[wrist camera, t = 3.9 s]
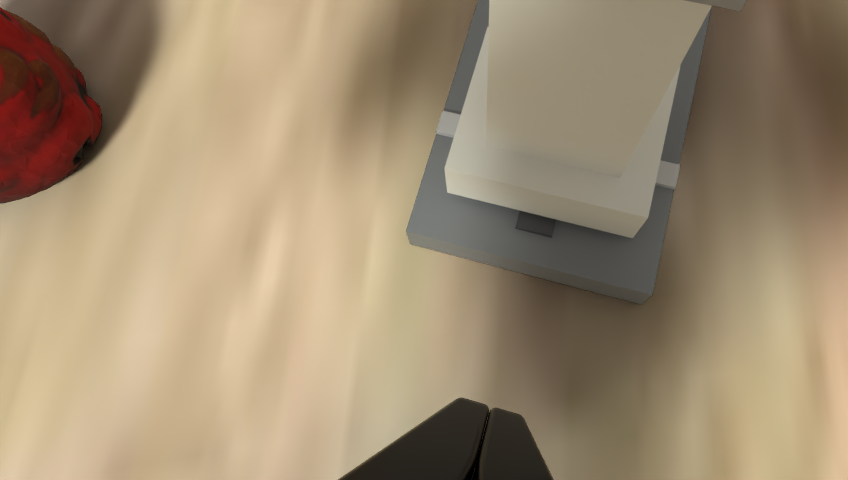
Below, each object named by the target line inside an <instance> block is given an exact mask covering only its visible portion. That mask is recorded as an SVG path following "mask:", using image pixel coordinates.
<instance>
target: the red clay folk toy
mask: <svg viewBox="0 0 848 480" xmlns="http://www.w3.org/2000/svg"><path fill="white" fill-rule="evenodd" d="M100 111H101V110H100V106H99V105H98V104H97V103H96V102H95V101H94V100H93V99H92V98H90V97H89V96H88V95H87V91H86V84H85V80H84V77H83V75H82V73H81V72H80V71H79V70H78V69H77V68H76V67H75V66H74V65H73V63H72V61H71V59H70V58H69V57H68V56H67V55H66V54H65V53H64V52H63V51H62V50H61V49H60V48H58V47H56V46H54V45H52V44H51V43H50V41H49V39H48V38H47V36H46V35H45V33H44V32H42V31H41V30H39V29H38V28H36V27H35V26H34V25H32V24H31V23H29V22H28V21H26V20H24V19H23V18H21V17H19V16H17V15H15V14H13V13H10V12H8V11H6V10H3V9H2V8H1V7H0V203H6V202H11V201H15V200H19V199H22V198H25V197H29V196H31V195H33V194H36V193H38V192H40V191H43V190H46V189H48V188H50V187H51V186H53V185H54V184H56V183H58V182H59V181H61V180H62V179H64V178H65V177H67V176H68V175H71V174H72V173H73V172H74V171H75V170H76V168H77V167H78V166H79V165H80V164H81V162H82V159H83V158H82V155H83V150H82V149H83V145H84V144H87V145H93V143H94V141H95V139H96V138H97V136H98V135H99V134H100V131H101V124H102V123H101V120H102V114H101V113H100Z"/></svg>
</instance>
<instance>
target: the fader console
mask: <svg viewBox="0 0 848 480" xmlns="http://www.w3.org/2000/svg"><path fill="white" fill-rule="evenodd" d="M711 8H712V7H711ZM711 8H710V10H709V12H708V14H707V16H706V18H705V20H704V22H703V23H702V25H701V27H700V29H699V31H698V33H697V35H696V36H695V38H694V40H693V42H692V44H691V46H690V48H689V50H688V51H687V53H686V55H685V57H684V59H683V61H682V63H681V65H680V71H679V76H678V80H677V85H676V90H675V94H674V99H673V104H672V108H671V113H670V118H669V122H668V127H667V132H666V136H665V141H664V146H663V151H662V155H661V160H660V165H659V169H658V174H657V179H656V183H655V188H654V193H653V197H652V202H651V207H650V211H649V216H648V219H647V220H646V221H645V223H644V224H643V225H642V227H641V228H640V229H639V231H638V232H637V233H636V235H635V236H634V237H633V238H629V237H625V236H621V235H617V234H613V233H609V232H605V231H601V230H597V229H593V228H589V227H584V226H580V225H576V224H572V223H568V222H564V221H560V220H556V219H552V218H548V217H544V216H540V215H536V214H532V213H528V212H524V211H520V210H516V209H512V208H508V207H504V206H500V205H496V204H491V203H487V202H483V201H479V200H475V199H471V198H467V197H463V196H459V195H455V194H451V193H447V186H446V178H445V170H444V168H445V165H446V161H447V158H448V155H449V152H450V148H451V145H452V142H453V138H454V135H455V132H456V129H457V125H458V122H459V119H460V116H461V112H462V109H463V106H464V102H465V99H466V96H467V93H468V89H469V86H470V83H471V79H472V76H473V73H474V70H475V66H476V63H477V60H478V56H479V53H480V50H481V47H482V43H483V40H484V37H485V33H486V30H487V27H489V0H478V2H477V5H476V9H475V12H474V15H473V18H472V21H471V25H470V28H469V31H468V34H467V37H466V41H465V44H464V47H463V50H462V53H461V57H460V60H459V63H458V66H457V69H456V73H455V76H454V79H453V82H452V85H451V89H450V92H449V95H448V98H447V101H446V105H445V108H444V111H442V114H441V117H440V120H439V123H438V127H437V130H436V137H435V140H434V143H433V146H432V149H431V153H430V156H429V159H428V162H427V165H426V169H425V172H424V175H423V178H422V181H421V185H420V188H419V191H418V194H417V197H416V201H415V204H414V207H413V210H412V213H411V217H410V220H409V223H408V226H407V229H406V233H407V236H408V239H409V242H410V244H412V245H415V246H419V247H423V248H427V249H431V250H435V251H438V252H442V253H446V254H450V255H454V256H458V257H461V258H465V259H469V260H473V261H477V262H480V263H484V264H488V265H492V266H496V267H500V268H503V269H507V270H511V271H515V272H519V273H522V274H526V275H530V276H534V277H538V278H542V279H545V280H549V281H553V282H557V283H561V284H565V285H568V286H572V287H576V288H580V289H584V290H587V291H591V292H595V293H599V294H603V295H607V296H610V297H614V298H618V299H622V300H626V301H630V302H633V303H637V304H643V303H644V302H645V301H646V300H647V299H648V298H650V297H651V296H652V295H653V290H654V285H655V280H656V276H657V271H658V266H659V261H660V256H661V251H662V246H663V241H664V237H665V232H666V227H667V222H668V217H669V212H670V207H671V202H672V198H673V193H674V189H675V188H676V184H677V179H678V175H679V170H680V165H679V163H680V159H681V154H682V149H683V144H684V139H685V134H686V129H687V125H688V120H689V115H690V110H691V105H692V100H693V95H694V90H695V86H696V81H697V76H698V71H699V66H700V61H701V56H702V51H703V47H704V42H705V37H706V32H707V27H708V22H709V17H710V12H711Z"/></svg>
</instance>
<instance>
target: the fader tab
mask: <svg viewBox="0 0 848 480" xmlns="http://www.w3.org/2000/svg"><path fill="white" fill-rule="evenodd" d="M746 2H747V0H489V27H487V30H486V33H485V37H484V40H483V43H482V47H481V50H480V53H479V56H478V60H477V63H476V66H475V70H474V73H473V76H472V79H471V83H470V86H469V89H468V93H467V96H466V99H465V102H464V106H463V109H462V112H461V116H460V119H459V122H458V125H457V129H456V132H455V135H454V138H453V142H452V145H451V148H450V152H449V155H448V158H447V161H446V165H445V168H444V170H445V178H446V186H447V193H451V194H455V195H459V196H463V197H467V198H471V199H475V200H479V201H483V202H487V203H491V204H496V205H500V206H504V207H508V208H512V209H516V210H520V211H524V212H528V213H532V214H536V215H540V216H544V217H548V218H552V219H556V220H560V221H564V222H568V223H572V224H576V225H580V226H584V227H589V228H593V229H597V230H601V231H605V232H609V233H613V234H617V235H621V236H625V237H629V238H633V237H634V236H635V235H636V233H637V232H638V231H639V229H640V228H641V227H642V225H643V224H644V223H645V221H646V220H647V219H648V216H649V211H650V207H651V202H652V197H653V193H654V188H655V183H656V179H657V174H658V169H659V165H660V160H661V155H662V151H663V146H664V141H665V136H666V132H667V127H668V122H669V118H670V113H671V108H672V104H673V99H674V94H675V90H676V85H677V80H678V76H679V71H680V65H681V63H682V61H683V59H684V57H685V55H686V53H687V51H688V50H689V48H690V46H691V44H692V42H693V40H694V38H695V36H696V35H697V33H698V31H699V29H700V27H701V25H702V23H703V22H704V20H705V18H706V16H707V14H708V12H709V10H710V8H711V7H712V6H716V7H721V8H726V9H732V10H737V11H741V10H742V8H743V7H744V5H745V3H746Z"/></svg>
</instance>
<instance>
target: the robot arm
mask: <svg viewBox="0 0 848 480" xmlns="http://www.w3.org/2000/svg"><path fill="white" fill-rule="evenodd" d="M488 414H489V415H488ZM487 417H488V419H487ZM486 421H487V423H486ZM485 425H486V427H485ZM484 429H485V430H484ZM483 433H484V434H483ZM482 437H483V438H482ZM481 441H482V442H481ZM480 445H481V446H480ZM479 449H480V450H479ZM474 468H475V469H474ZM473 472H474V473H473ZM472 476H473V477H472ZM338 480H553V478H552V476H551V473H550V471H549V469H548V467H547V465H546V463H545V461H544V459H543V457H542V455H541V453H540V451H539V449H538V447H537V445H536V443H535V441H534V438H533V436H532V434H531V432H530V430H529V428H528V426H527V424H526V422H525V420H524V418H523V417H522V416H521V415H519V414H516V413H513V412H509V411H506V410H503V409H499V408H492V409H491V410H490V412H489V408H488V407H487V405H485V404H482V403H479V402H475V401H472V400H468V399H465V398H458V399H456V400H454V401H453V402H451V403H450V404H448V405H447V406H445V407H444V408H442V409H441V410H440V411H438V412H437V413H435V414H434V415H432V416H431V417H429V418H428V419H426V420H425V421H423V422H422V423H420V424H419V425H418V426H416V427H415V428H413V429H412V430H410V431H409V432H407V433H406V434H404V435H403V436H401V437H400V438H398V439H397V440H396V441H394V442H393V443H391V444H390V445H388V446H387V447H385V448H384V449H382V450H381V451H379V452H378V453H376V454H375V455H374V456H372V457H371V458H369V459H368V460H366V461H365V462H363V463H362V464H360V465H359V466H357V467H356V468H354V469H353V470H351V471H350V472H349V473H347V474H346V475H344V476H343V477H341V478H340V479H338Z"/></svg>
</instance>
